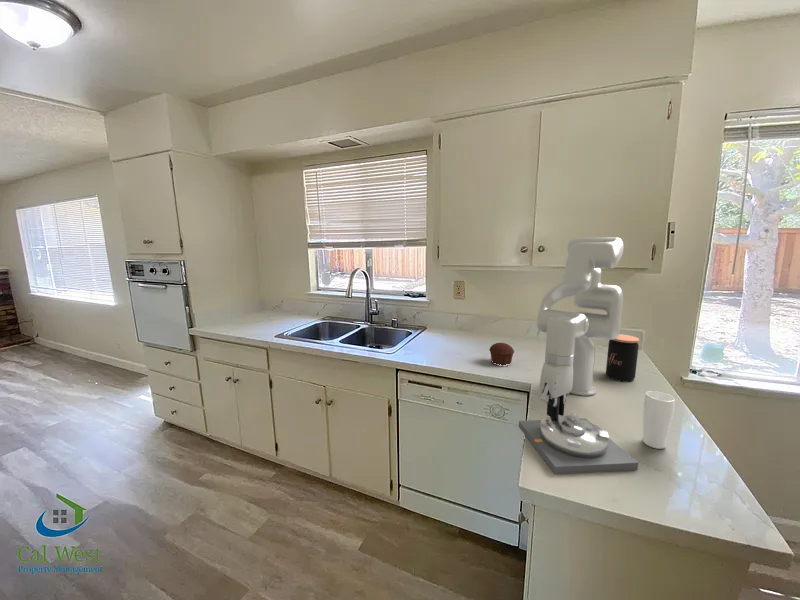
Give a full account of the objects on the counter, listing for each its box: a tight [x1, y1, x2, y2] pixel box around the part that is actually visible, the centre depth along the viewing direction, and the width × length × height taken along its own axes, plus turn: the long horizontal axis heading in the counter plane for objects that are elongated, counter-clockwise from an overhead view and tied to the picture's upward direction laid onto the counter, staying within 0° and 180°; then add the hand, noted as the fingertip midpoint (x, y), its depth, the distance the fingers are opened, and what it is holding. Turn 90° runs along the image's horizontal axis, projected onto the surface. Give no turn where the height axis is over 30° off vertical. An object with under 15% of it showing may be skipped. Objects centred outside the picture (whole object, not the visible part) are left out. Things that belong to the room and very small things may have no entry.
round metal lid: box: [540, 397, 610, 457], centre depth 94 cm, size 17×17×10 cm
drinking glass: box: [642, 390, 676, 450], centre depth 94 cm, size 7×7×15 cm
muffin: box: [488, 342, 515, 365], centre depth 160 cm, size 12×11×10 cm
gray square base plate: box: [518, 417, 639, 475], centre depth 95 cm, size 22×22×2 cm
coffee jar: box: [605, 333, 640, 382], centre depth 141 cm, size 11×11×18 cm
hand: (555, 414), depth 100 cm, fingers open, 2 cm apart
